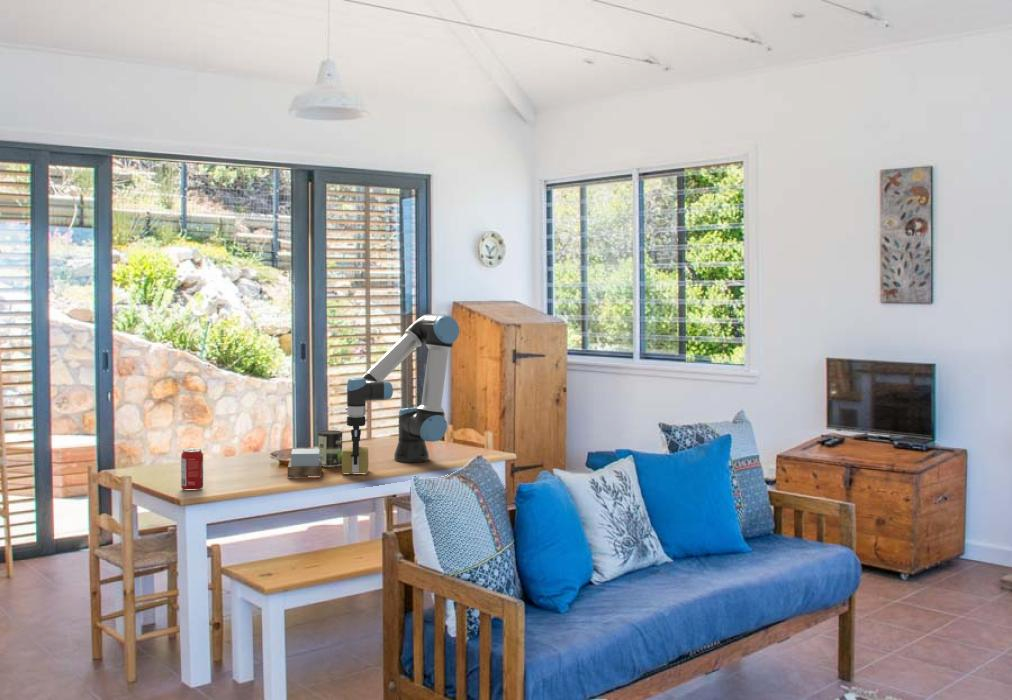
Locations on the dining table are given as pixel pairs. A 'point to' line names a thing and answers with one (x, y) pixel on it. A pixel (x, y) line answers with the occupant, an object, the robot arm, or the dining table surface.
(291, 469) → the tower base
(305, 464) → the tower top
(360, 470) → the olive yellow cube
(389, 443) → the dining table surface
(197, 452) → the soda can
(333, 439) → the coffee can
